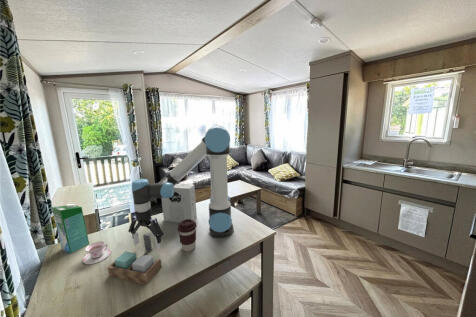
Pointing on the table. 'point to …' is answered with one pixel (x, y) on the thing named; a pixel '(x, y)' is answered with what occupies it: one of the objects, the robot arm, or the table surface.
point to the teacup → (96, 252)
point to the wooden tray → (134, 273)
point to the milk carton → (70, 227)
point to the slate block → (142, 263)
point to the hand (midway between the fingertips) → (147, 245)
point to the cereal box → (180, 204)
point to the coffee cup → (187, 234)
